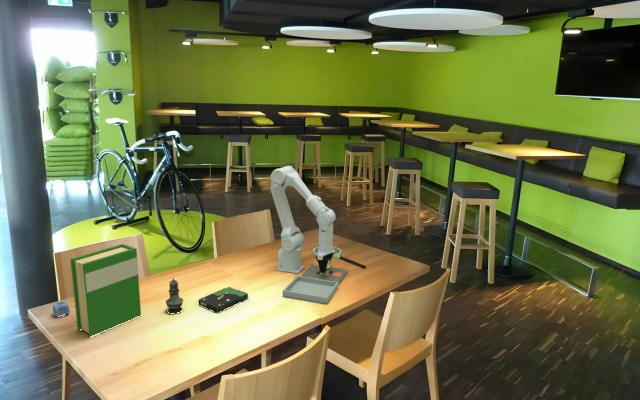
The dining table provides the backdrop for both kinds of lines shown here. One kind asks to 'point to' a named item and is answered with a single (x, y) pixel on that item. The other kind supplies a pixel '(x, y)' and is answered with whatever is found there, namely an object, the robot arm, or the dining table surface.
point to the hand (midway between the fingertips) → (324, 270)
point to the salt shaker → (174, 298)
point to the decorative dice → (61, 308)
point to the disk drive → (223, 299)
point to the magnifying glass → (340, 257)
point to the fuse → (327, 270)
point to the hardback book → (106, 288)
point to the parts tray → (310, 289)
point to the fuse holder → (314, 271)
